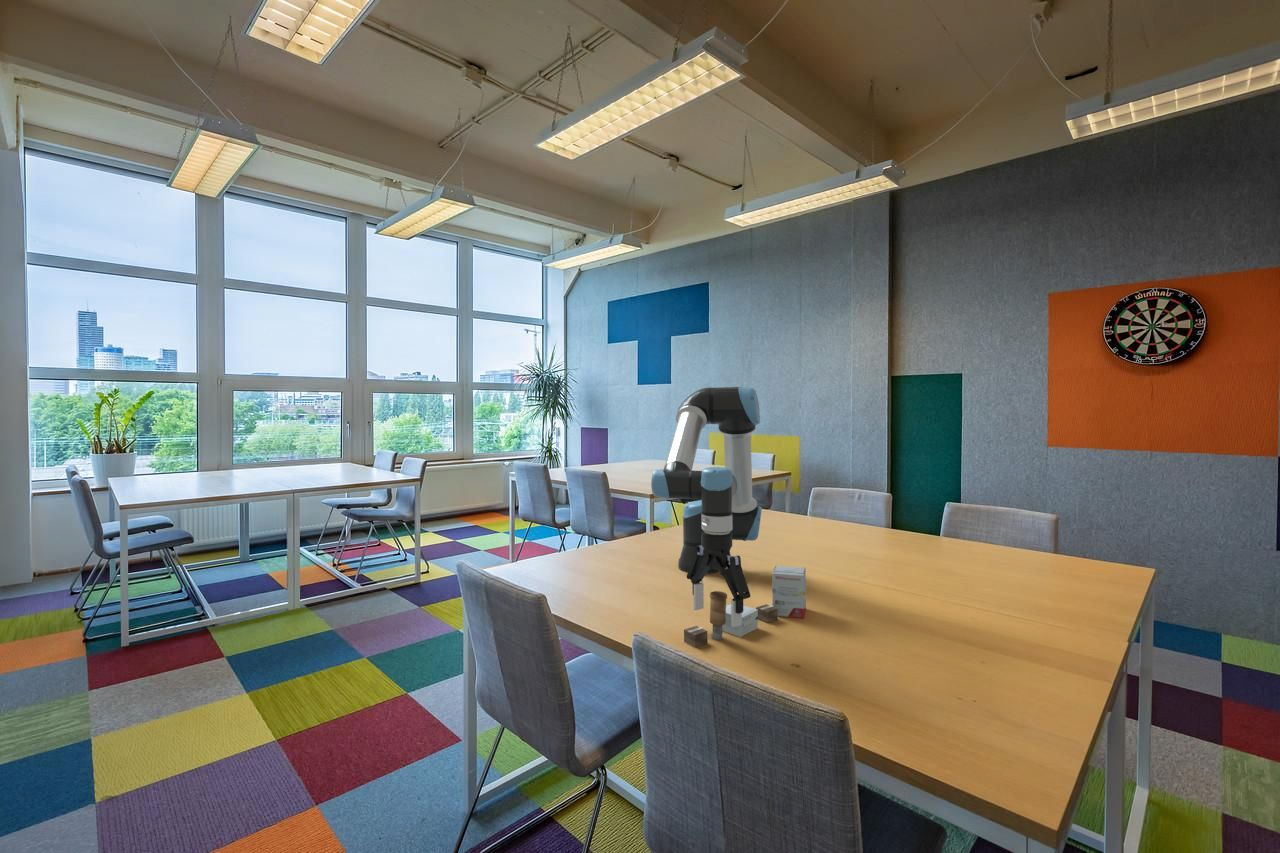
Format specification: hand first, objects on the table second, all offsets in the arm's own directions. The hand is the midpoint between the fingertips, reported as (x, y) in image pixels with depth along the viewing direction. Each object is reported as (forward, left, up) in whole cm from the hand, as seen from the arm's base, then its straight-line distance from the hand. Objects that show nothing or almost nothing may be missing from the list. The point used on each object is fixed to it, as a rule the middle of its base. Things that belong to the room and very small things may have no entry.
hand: (716, 617), depth 142 cm
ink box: (-28, -1, -5) cm, 29 cm away
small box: (-8, -1, -6) cm, 10 cm away
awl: (0, 0, -5) cm, 5 cm away
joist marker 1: (+6, -1, -5) cm, 8 cm away
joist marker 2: (-19, -1, -5) cm, 20 cm away
